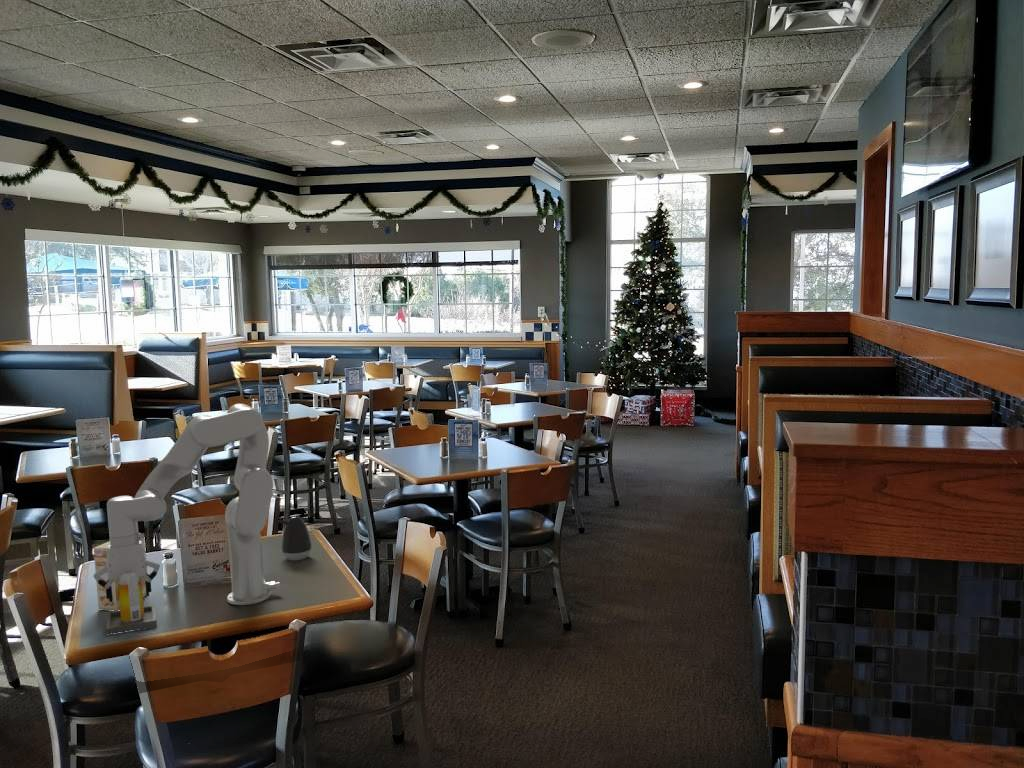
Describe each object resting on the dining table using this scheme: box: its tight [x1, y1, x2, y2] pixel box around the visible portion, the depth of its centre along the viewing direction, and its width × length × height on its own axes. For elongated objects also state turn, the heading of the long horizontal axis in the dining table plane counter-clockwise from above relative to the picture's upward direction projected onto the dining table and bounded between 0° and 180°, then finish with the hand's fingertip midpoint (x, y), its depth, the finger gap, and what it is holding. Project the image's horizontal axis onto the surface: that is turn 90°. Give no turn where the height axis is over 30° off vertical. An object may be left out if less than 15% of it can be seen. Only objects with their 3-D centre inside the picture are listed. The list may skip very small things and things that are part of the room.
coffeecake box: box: [93, 537, 148, 611], centre depth 260 cm, size 15×7×20 cm, turn 167°
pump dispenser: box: [278, 515, 313, 562], centre depth 297 cm, size 10×10×15 cm
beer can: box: [118, 572, 144, 624], centre depth 244 cm, size 6×6×15 cm
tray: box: [105, 604, 158, 635], centre depth 245 cm, size 13×13×2 cm
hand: (129, 597), depth 244 cm, fingers open, 9 cm apart
